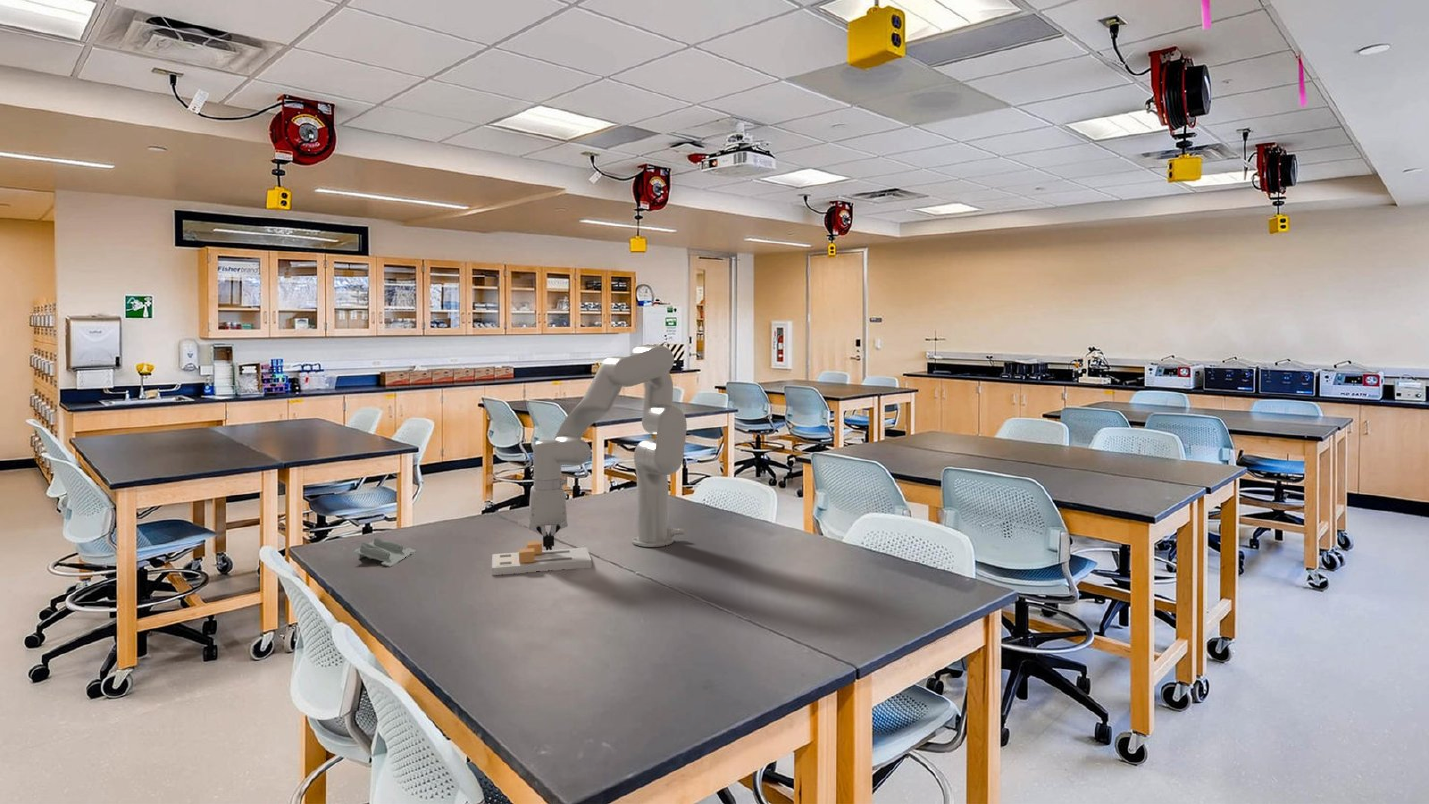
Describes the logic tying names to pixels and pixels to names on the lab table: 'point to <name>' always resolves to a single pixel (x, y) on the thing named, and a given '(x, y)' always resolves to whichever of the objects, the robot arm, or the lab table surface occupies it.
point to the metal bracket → (383, 551)
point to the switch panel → (541, 561)
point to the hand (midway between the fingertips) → (548, 548)
